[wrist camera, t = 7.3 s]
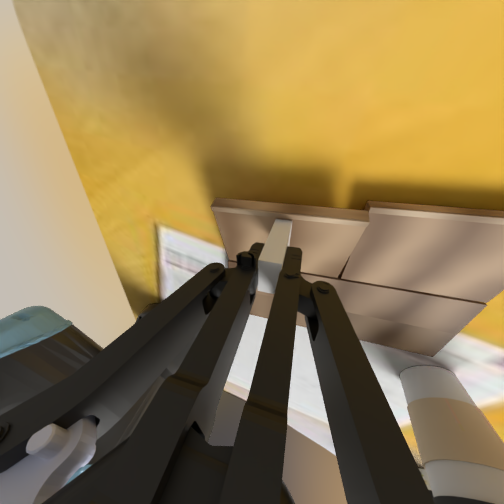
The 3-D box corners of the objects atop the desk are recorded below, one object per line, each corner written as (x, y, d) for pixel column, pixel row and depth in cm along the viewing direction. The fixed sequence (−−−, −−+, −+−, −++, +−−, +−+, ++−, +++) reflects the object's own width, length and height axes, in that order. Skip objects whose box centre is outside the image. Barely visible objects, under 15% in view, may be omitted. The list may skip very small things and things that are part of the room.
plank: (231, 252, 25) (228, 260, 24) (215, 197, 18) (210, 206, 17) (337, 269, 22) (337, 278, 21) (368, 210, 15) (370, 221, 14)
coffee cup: (378, 375, 31) (421, 533, 19) (423, 353, 25) (525, 553, 13) (429, 398, 30) (508, 575, 18) (486, 380, 25) (652, 613, 13)
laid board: (234, 304, 31) (232, 310, 30) (231, 256, 25) (227, 261, 24) (428, 348, 25) (432, 356, 24) (478, 296, 19) (487, 305, 18)
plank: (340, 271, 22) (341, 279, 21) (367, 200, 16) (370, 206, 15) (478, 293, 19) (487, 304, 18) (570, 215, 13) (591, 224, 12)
